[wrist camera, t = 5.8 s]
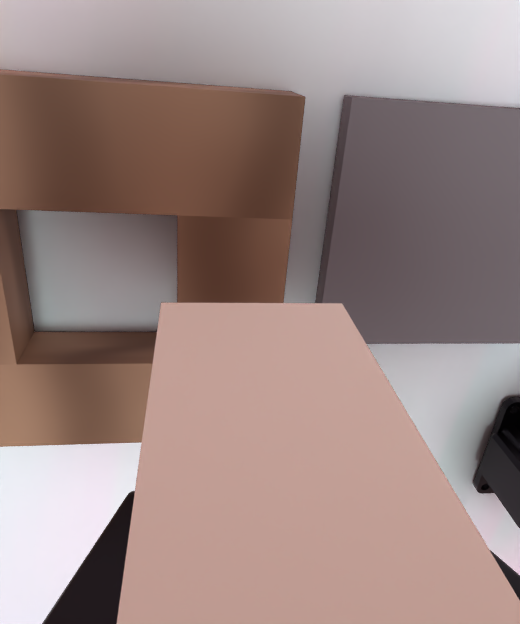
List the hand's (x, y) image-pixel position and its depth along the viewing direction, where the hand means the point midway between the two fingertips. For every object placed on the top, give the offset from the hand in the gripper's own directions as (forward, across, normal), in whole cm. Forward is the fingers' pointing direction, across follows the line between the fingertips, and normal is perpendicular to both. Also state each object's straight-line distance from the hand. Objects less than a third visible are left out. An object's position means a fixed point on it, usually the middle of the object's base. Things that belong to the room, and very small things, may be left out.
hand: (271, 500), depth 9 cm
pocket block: (+13, +5, 0) cm, 14 cm away
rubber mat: (+13, -9, -1) cm, 16 cm away
